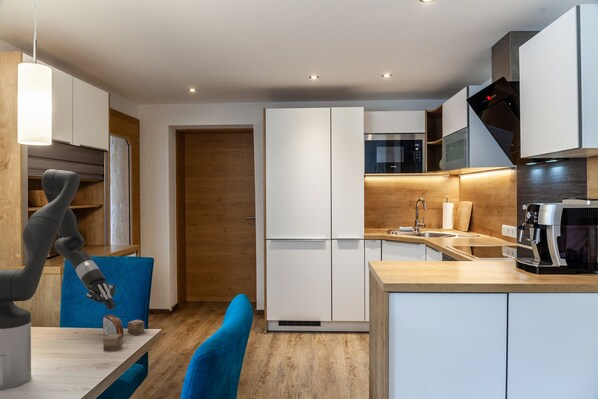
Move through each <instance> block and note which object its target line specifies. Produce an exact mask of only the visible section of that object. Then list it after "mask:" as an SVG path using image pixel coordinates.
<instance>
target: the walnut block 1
mask: <svg viewBox="0 0 598 399" xmlns="http://www.w3.org/2000/svg"><path fill="white" fill-rule="evenodd" d="M102 340H103V352H116V350H117V351H118V350H119V349H120V348H122V347H123V338H122V334H109V335H108V336H106V335H105V337H104V338H103V339H102ZM121 346H122V347H121Z"/></svg>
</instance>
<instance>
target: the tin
mask: <svg viewBox="0 0 598 399" xmlns="http://www.w3.org/2000/svg"><path fill="white" fill-rule="evenodd" d="M123 326H124V325H123V323H122V321H121V319H120V318H119V317H118V316H115V315H114V314H112V313H110V314H107V315H106V314H105V315H104V316H103V317H102V328H103V332H104V335H105V337H106V336H108V335H109V334H122V339H123V338H124V327H123Z"/></svg>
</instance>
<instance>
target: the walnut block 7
mask: <svg viewBox="0 0 598 399" xmlns="http://www.w3.org/2000/svg"><path fill="white" fill-rule="evenodd" d="M127 333H128V335H132V336H138V335H141V334H144V333H145V321H143V320H140V319H135V320H131V321H127Z"/></svg>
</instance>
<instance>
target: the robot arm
mask: <svg viewBox="0 0 598 399" xmlns="http://www.w3.org/2000/svg"><path fill="white" fill-rule="evenodd" d="M80 182H81V181H80V176H79V174H78V173H76V172H73V171H70V170H69V171H68V170H62V169H61V170H59V169H47V170H45V172H44V173H43V174H42V178H41V188H42V190H43V193H44V195H45V199H46V201H47V204H46V205H44V206H42V207H40V208H39V209H38V210H36V211H35V212H34V213H33V214H31V216H30V217H29V218H28V221H27V223H26V224H25V227H24V229H23V231H22V240H23V243H24V245H25V248H26V251H27V254H28V255H27V257H28V258H27V261H26V264H25V265H24V267H23V269H1V270H0V390H1V391H3V390H6V389H11V388H15V387H19V386H21V385H24V384H26V383H27V382H29V381H30V380H31V379H32V314H31V311H29V310H27V309H24V308H22V307H19V306H18V305H17V304H15V302H26V301H29V300H31V299H32V298H33V297H34V295H35V293H36V292H37V290H38V286H39V284H40V281H41V277H42V276H43V275H42V274H43V271H44V269H45V264H46V261H47V259H48V256H49V254H50V251H51V248H52V246H53V244H54V249H55V251H56V252H57V253H58V254H59V255H60V256H62V257H63V258H64V259H66V260H67V261H68V262H69V263H70V265H71V266H72V267H73V269H74V270H75V273H76V274H77V276H78V277H79V279H80V281H81V282H82V284H83V285H84V287H85V288H86V289H87V291H88V292H87V293H86V294H85V298H87V299H90V300H92V301H94V302H96V303H98V304H101V303H103V304H104V306H105V307H106V309H108V310H109V311H111V310H114V309H115V307H116V302H114V300H113V297H114V296H116V295H115V293H116V285H115V284H113V285H110V284H109V283H108V282H107V281H106V278H105V275H104V274H103V272H102V271H101V269H100V268H99V267H98V265H97V264H96V262H94V261H93V259H92V258H91V256H90V254H89V253H88V252H87V251H86V250H81V249H82V248H83V247H84V246H85V240H84V237H83V236H82V234H81V233H80V231H79V229H78V223H77V217H76V215H75V214H74V212H73V210H72V208H70V205H71V203H72V202H73V199H74V198H75V197H76V196H75V195H76V194H77V191H79V190H78V189H79V186H80ZM57 235H58V236H59V237H60V238H58V239H56V238H57ZM54 241H55V242H54ZM78 250H80V251H78Z"/></svg>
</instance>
